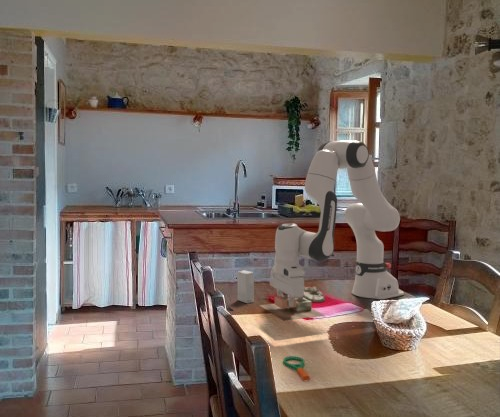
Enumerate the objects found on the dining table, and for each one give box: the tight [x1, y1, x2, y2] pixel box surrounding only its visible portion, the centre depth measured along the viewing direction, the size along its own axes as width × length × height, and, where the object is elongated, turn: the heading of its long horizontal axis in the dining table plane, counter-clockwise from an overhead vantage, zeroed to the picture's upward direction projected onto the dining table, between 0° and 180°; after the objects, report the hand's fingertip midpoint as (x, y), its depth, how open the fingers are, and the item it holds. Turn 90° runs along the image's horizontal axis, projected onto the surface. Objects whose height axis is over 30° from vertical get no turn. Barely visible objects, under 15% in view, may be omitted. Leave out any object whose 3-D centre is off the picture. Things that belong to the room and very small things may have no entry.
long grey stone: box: [303, 286, 326, 303], centre depth 226 cm, size 35×5×10 cm
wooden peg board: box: [259, 293, 325, 322], centre depth 199 cm, size 17×20×8 cm
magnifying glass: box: [282, 355, 311, 381], centre depth 148 cm, size 15×6×2 cm, turn 12°
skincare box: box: [236, 269, 255, 304], centre depth 215 cm, size 6×4×12 cm
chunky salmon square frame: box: [274, 295, 297, 309], centre depth 199 cm, size 6×6×3 cm
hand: (285, 303), depth 199 cm, fingers closed on chunky salmon square frame, 6 cm apart
